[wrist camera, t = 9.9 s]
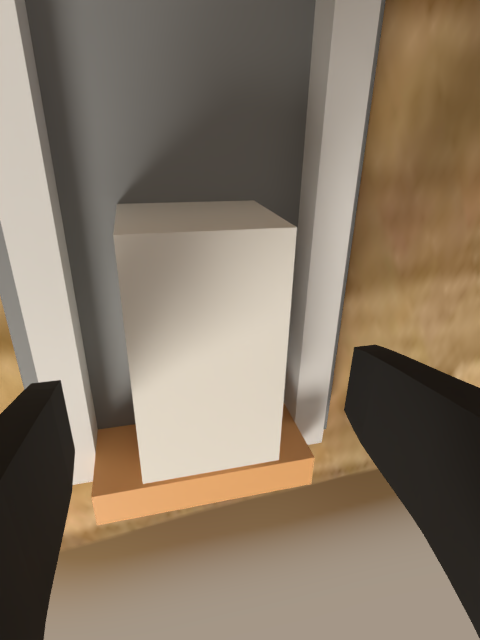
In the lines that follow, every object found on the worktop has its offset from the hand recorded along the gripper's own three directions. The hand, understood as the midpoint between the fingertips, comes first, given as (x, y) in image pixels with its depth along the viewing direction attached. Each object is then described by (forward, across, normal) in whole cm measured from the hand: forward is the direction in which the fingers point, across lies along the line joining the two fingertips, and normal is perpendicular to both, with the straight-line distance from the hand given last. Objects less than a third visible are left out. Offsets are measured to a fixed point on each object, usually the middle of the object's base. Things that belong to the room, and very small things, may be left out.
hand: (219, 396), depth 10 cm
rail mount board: (+5, 0, -4) cm, 7 cm away
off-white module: (+4, 0, 0) cm, 4 cm away
